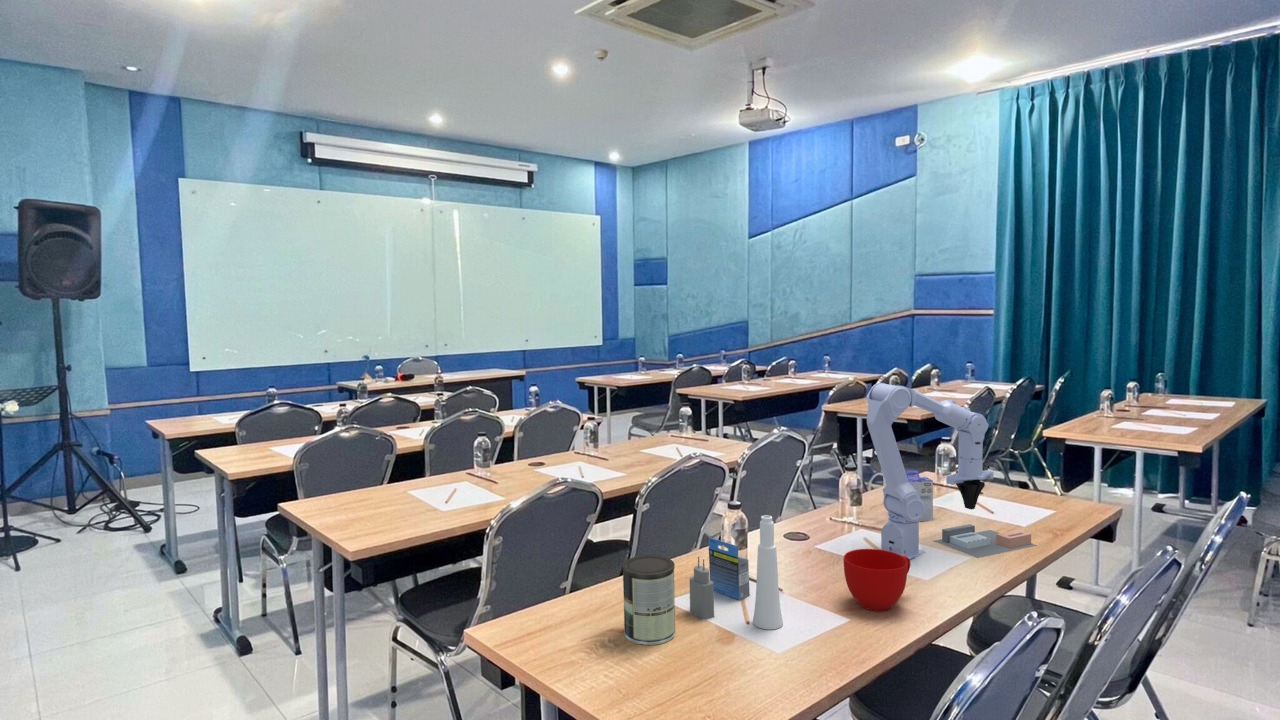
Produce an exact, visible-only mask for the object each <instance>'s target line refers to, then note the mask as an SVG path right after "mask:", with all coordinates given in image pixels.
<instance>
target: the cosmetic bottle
mask: <svg viewBox="0 0 1280 720" xmlns="http://www.w3.org/2000/svg"><path fill="white" fill-rule="evenodd" d="M760 519H761V520H760V522H759V543H758V545H757V557H756V558H757V560H756V589H755V602H754V609H753V612H754V613H753V617H752V624H753V625H754V626H755V627H756V628H759V629H762V630H778V629H779V628H781V627H783V624H784V622H783V621H784V620H783V616H782V609H781V602H780V589H779V588H780V587H779V571H778V569H779V568H778V555H777V554H778V553H777V545H776V544H775V524H774V522H775V521H773V517H772V515H767V514H765V515H761V516H760Z"/></svg>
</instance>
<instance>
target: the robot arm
mask: <svg viewBox="0 0 1280 720" xmlns="http://www.w3.org/2000/svg"><path fill="white" fill-rule="evenodd" d="M866 401H867V403H868V406H867V412H866V413H867V416H866V425H867V429H868V431H869V434H870V438H871V441H872V444H873V447H874V450H875V454H876V456H877V460H878V462H879V466H880V469H881V472H882V475H883V478H884V481H885V486H884V487H883V488H882V492H883V501H882V504H883V507H884V508H885V510H886V511H887V516H888V520H887V523H885V524H884V525H883V527H882V528H881V535H880V536H881V537H880V538H881V542H880V543H881V547H880V550H885V551H890V552H894V553H897V554H899V555H901V556H906V557H908V558H909V560H910V561H911V559H914V558H916V557H918V556H920V555H922V554H925V553H926V550H925V549H924V550H923V549H921V548H920V547H919V545H920V544H919V543H920V541H919V538H920V537H919V536H920V522H921V521H920V519H921V518H922V517H923V515H924V513H925V504H924V502H923V501H922V500H921V499H920V498H919V496H918V494H917V491H916V490H915V489H914V487H913V486H912V485H911V484H910V483H909V481H908V478H907V475H906V470H905V466H904V463H903V459H902V457H901V453H900V450H899V447H898V443H897V441H896V436H895V434H894V431H893V428H892V425H893V423H894V422H895V421H896V420H897V419H898V418H899V417H900V416H901V415H902V414H903V413H904V412H906V410H907V409H908V408H909V407H910V408H913V407H916V408H919V409H922V410H925V411H927V412H929V413H932V414H933V415H934V418H935V420H937V421H938V422H941V423H943V424H945V425H947V426H949V427H952V428H953V429H955V431H957V432H958V452H957V453H958V454H957V455H958V457H957V458H958V461H957V464H958V467H957V469H958V470H957V472H956V473H953V474H951V475H946V484H947V485H951V486H955V485H956V487H957V489H958V490H959V492H960V495H961V498H962V501H963V504H964V508H965V509H968V510H975V509H976V506H977V503H978V500H979V497H980V494H981V492H982V491H983V489H984V488H985V486H986V485H985V482H984V481H982V480H993V479H994V471H992V470H988V469H986V470H983V450H984V448H983V445H984V444H983V443H984V440H985V434H986V432H987V431H988V428H989V423H988V422H987V419H986V417H985V416H984V415H983V414H981V413H979V412H973V411H971V408H970V407H968V406H964V407H963V406H961V405H958V404H957V401H956V400H954V399H948V400H947V399H945V400H941V401H938V400H936V399H934V398H932V397H930V396H928V395H926V394H924V393H922V392H920V391H918V390H915V389H913V388H909V387H906V386H904V385H894V384H887V383H884V382H877V383H875V384H873V386H871V388H870V390H869V391H868V393H867V395H866Z"/></svg>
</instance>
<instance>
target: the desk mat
mask: <svg viewBox="0 0 1280 720" xmlns="http://www.w3.org/2000/svg"><path fill="white" fill-rule="evenodd" d="M975 533H976V534H979V535H982V536H985V537H988V538H990V545H985V546H980V547H975V548H970V549H966V548H964V547H961V546H958V545H956V544H953V543H950V542H948V543H946V542H943V541H942V538H940V539H936V540H935V539H934V540H933V543H937V544H939V545H942V546H945V547H948V548H950V549H952V550H955V551H958V552H960V553H963V554H966V555H969V556H970V557H971V556H972V557H974V558H977V559H979V558H985V557H989V556H994V555H999V554H1004V553H1008V552H1012V551H1018V550H1022V549H1027V548H1032V547H1036V546H1038V545H1037V544H1035V543H1032V542H1031V544H1028V545H1023V546H1018V547H1013V548H1007V547H1004V546H1001V545H998V544H996V534H999V533H1000V532H997V531H995V530H991V529H988V530H987V529H986V530H983V531H977V532H976V531H975Z"/></svg>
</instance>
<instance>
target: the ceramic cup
mask: <svg viewBox="0 0 1280 720" xmlns="http://www.w3.org/2000/svg"><path fill="white" fill-rule="evenodd" d="M910 568H911V559H910V560H909V558H908V557H906V556H901V555H899V554H897V553H894V552H890V551H885V550H881V549H879V548H878V549H877V548H859V549H853V550H849V551H848V552H846V553H845V554H844V555H843V571H844V578H845V582H846V585H847V588H848V590H849V592H850V594H851V596H852V597H853V599H854V600H855V601H856V602H857V603H858V605H860V607H862V608H863V609H866V610H868V611H874V612H884V611H888V610H890V609H892V607H893V606H894V605H895V604H896V603H897V602H898V601H900V599H901V597H902V595H903V594H904V591H905V588H906V585H907V579H908V578H907V577H908V574H909V572H910Z"/></svg>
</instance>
